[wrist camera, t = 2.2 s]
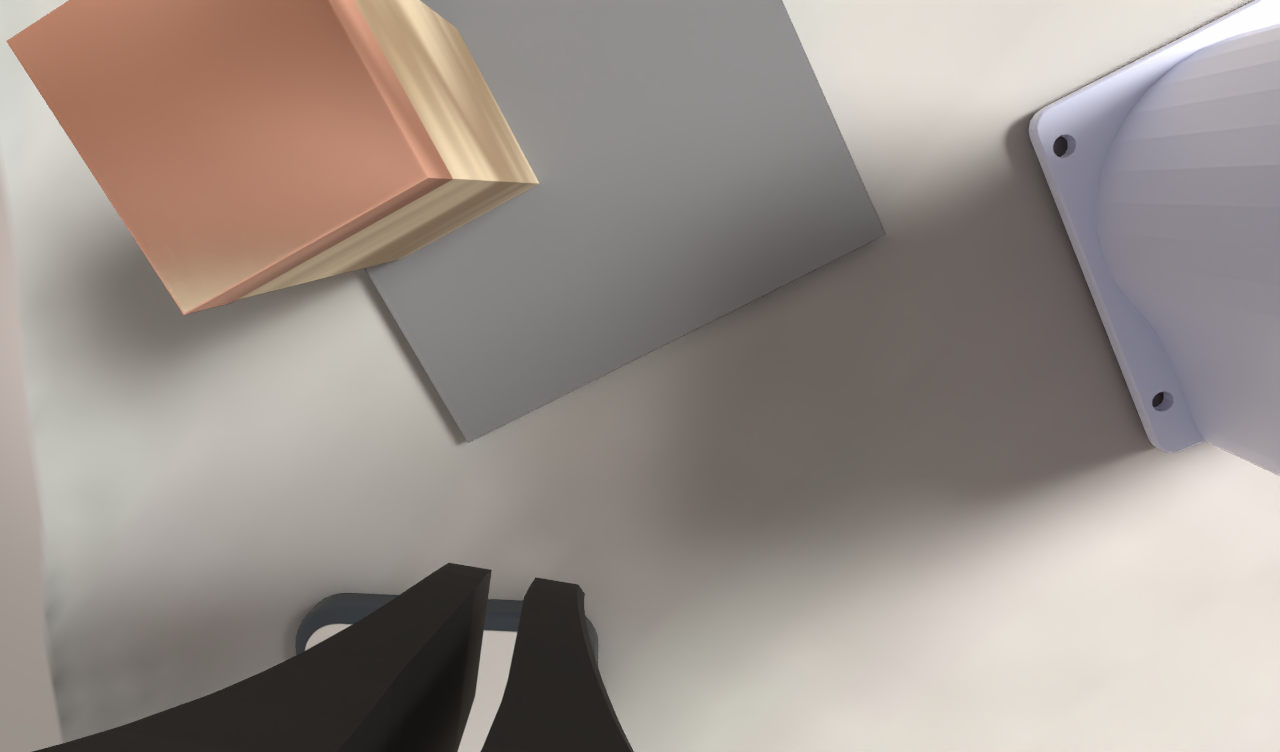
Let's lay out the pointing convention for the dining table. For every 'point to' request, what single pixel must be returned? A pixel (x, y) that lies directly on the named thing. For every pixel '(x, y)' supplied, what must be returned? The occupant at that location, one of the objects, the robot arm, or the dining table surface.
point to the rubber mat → (625, 194)
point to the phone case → (493, 658)
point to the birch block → (274, 133)
